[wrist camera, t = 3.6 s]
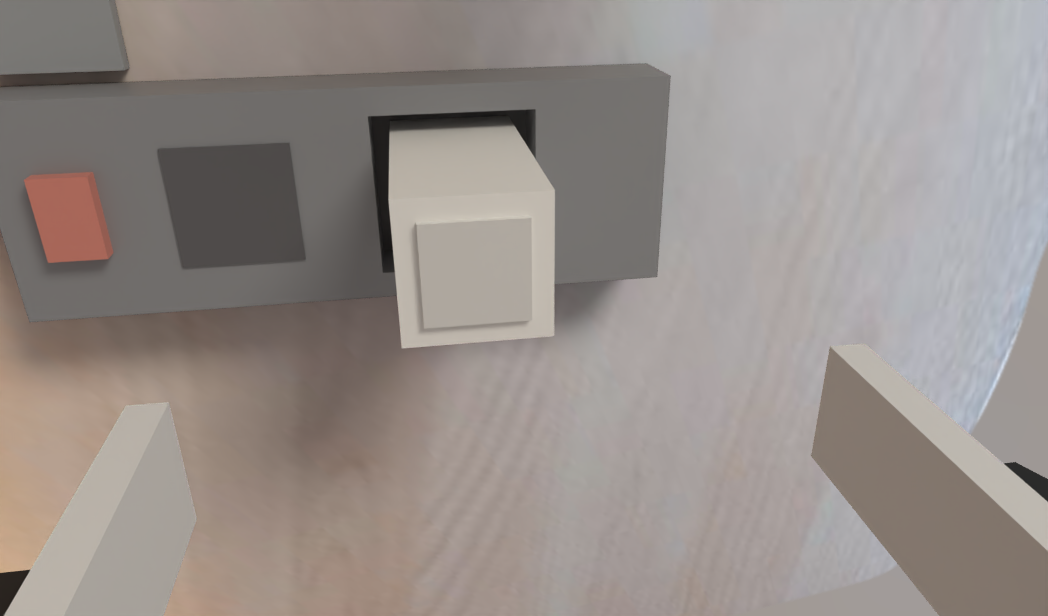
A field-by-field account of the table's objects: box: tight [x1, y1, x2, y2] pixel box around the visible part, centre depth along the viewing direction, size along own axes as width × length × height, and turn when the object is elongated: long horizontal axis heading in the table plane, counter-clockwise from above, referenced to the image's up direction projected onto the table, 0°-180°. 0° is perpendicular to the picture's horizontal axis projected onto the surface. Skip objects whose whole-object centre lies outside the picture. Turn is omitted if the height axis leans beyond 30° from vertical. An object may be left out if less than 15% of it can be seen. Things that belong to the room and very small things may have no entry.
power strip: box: [0, 64, 671, 322], centre depth 30 cm, size 31×8×4 cm, turn 91°
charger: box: [388, 116, 555, 348], centre depth 27 cm, size 5×5×10 cm
